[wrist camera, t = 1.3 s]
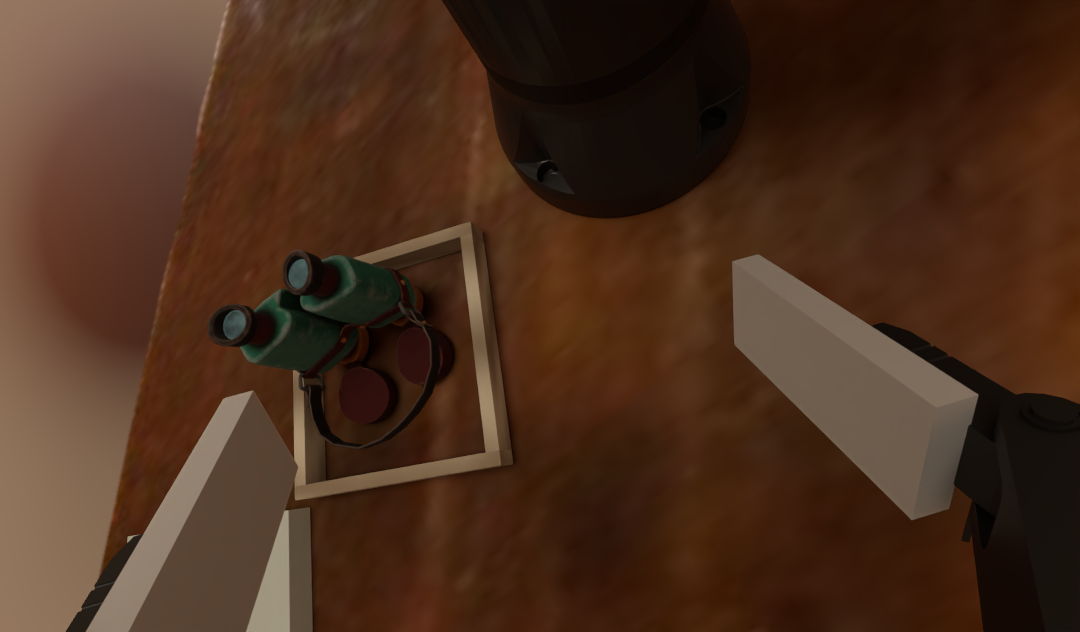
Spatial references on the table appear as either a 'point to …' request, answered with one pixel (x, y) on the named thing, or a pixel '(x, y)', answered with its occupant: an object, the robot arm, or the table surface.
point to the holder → (487, 369)
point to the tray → (286, 579)
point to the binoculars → (339, 335)
